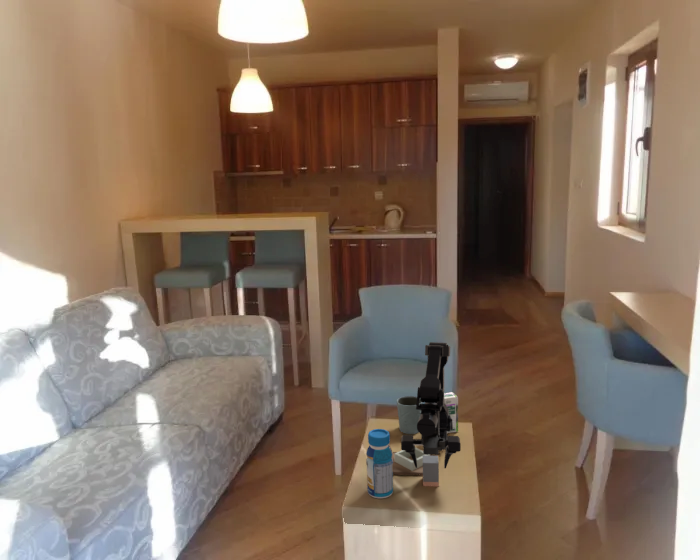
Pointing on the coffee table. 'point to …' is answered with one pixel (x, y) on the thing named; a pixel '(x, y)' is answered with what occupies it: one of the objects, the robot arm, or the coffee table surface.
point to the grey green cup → (408, 414)
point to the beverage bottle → (379, 464)
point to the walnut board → (403, 470)
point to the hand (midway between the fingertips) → (430, 467)
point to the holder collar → (403, 459)
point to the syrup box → (452, 409)
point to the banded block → (430, 471)
